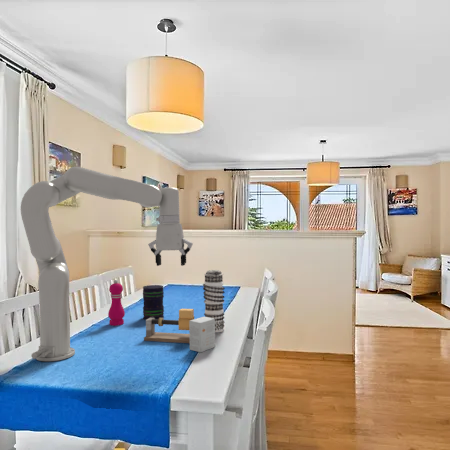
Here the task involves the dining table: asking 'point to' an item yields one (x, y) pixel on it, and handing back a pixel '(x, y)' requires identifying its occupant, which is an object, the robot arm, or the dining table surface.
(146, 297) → the storage jar
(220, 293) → the decorative candle
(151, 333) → the slider rail stand
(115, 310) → the pepper mill
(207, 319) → the small box
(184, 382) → the dining table surface
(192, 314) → the wooden slider block
